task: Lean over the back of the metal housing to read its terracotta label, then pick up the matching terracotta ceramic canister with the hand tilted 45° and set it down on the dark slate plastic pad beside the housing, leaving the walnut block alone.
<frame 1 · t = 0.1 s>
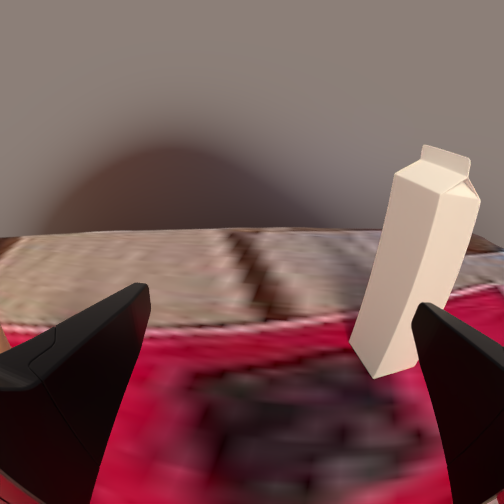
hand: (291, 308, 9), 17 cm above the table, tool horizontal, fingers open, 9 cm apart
milk: (381, 356, 30), on the table
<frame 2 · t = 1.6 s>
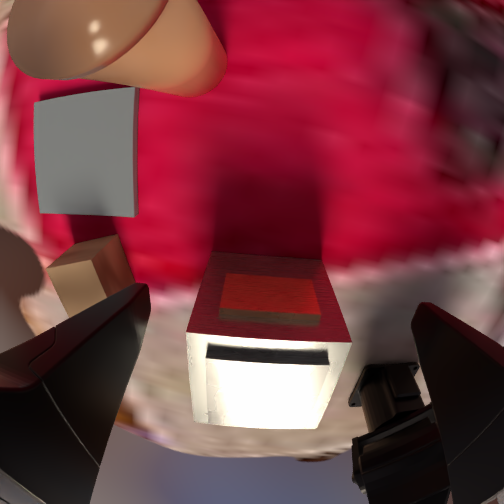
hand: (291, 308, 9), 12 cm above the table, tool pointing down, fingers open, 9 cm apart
canister: (191, 64, 16), on the table
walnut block: (104, 263, 23), on the table
pad: (83, 153, 19), on the table
housing: (262, 301, 24), on the table
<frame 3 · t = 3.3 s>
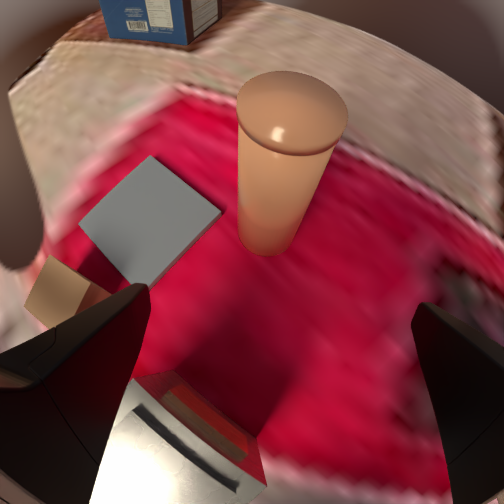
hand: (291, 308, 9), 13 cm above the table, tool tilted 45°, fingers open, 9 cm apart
canister: (266, 229, 25), on the table
protein box: (164, 26, 36), on the table
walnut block: (82, 306, 22), on the table
pad: (146, 221, 24), on the table
housing: (180, 440, 19), on the table
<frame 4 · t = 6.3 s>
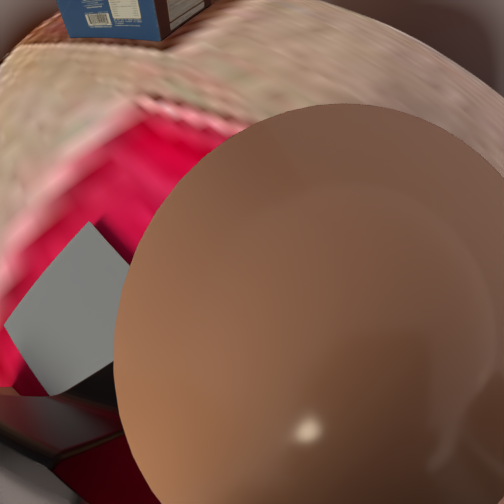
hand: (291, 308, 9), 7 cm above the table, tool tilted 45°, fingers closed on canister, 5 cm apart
canister: (268, 354, 15), on the table, touching gripper
protein box: (136, 19, 26), on the table
pad: (87, 331, 15), on the table
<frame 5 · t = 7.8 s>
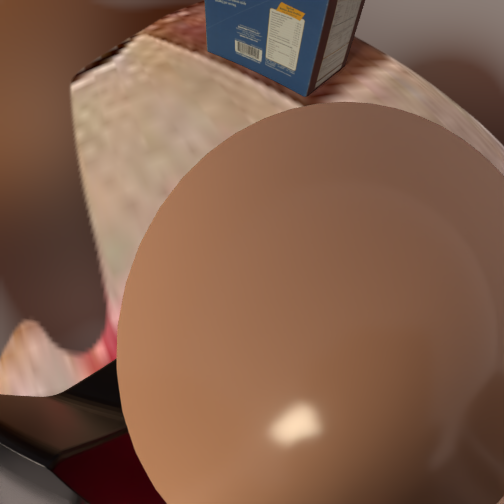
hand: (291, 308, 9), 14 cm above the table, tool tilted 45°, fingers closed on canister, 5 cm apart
canister: (268, 353, 15), point 7 cm above the table, touching gripper
protein box: (276, 56, 33), on the table
when the fingers open (9 cm above the table, at t = 9.3 s): canister drops 1 cm, resting on pad.
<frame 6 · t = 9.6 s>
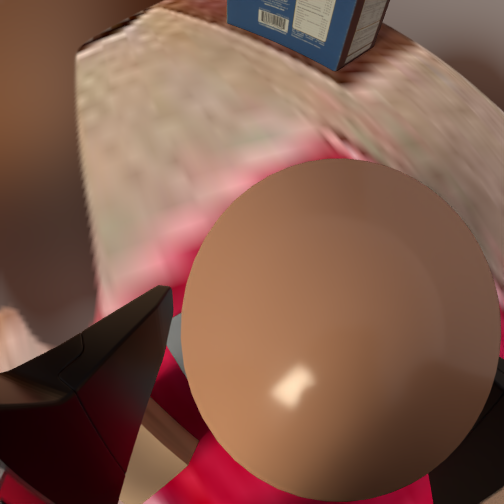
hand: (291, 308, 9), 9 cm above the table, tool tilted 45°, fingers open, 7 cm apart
canister: (265, 354, 16), point 1 cm above the table, touching pad
protein box: (301, 32, 29), on the table
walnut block: (148, 438, 15), on the table
pad: (264, 353, 17), on the table
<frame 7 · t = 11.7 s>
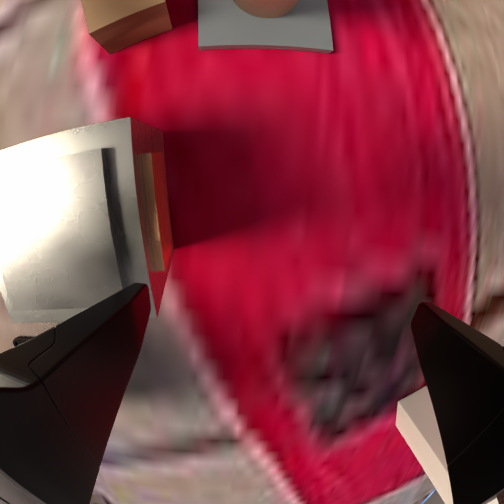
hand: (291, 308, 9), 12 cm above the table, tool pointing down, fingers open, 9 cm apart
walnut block: (133, 17, 15), on the table
milk: (414, 402, 32), on the table
housing: (111, 198, 19), on the table
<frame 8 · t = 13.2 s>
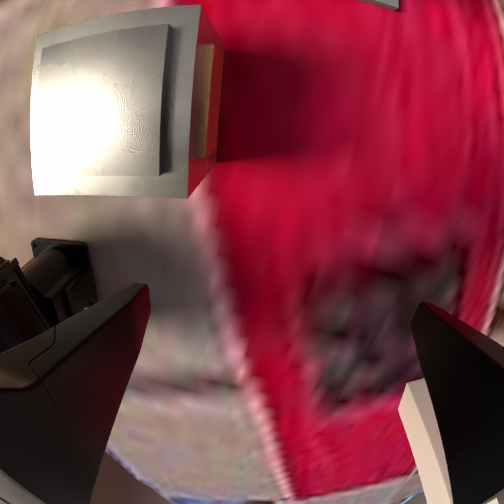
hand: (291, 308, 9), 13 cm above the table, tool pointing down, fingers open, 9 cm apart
milk: (421, 389, 31), on the table
housing: (162, 104, 18), on the table
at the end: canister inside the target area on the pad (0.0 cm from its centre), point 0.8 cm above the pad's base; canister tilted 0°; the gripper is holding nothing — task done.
